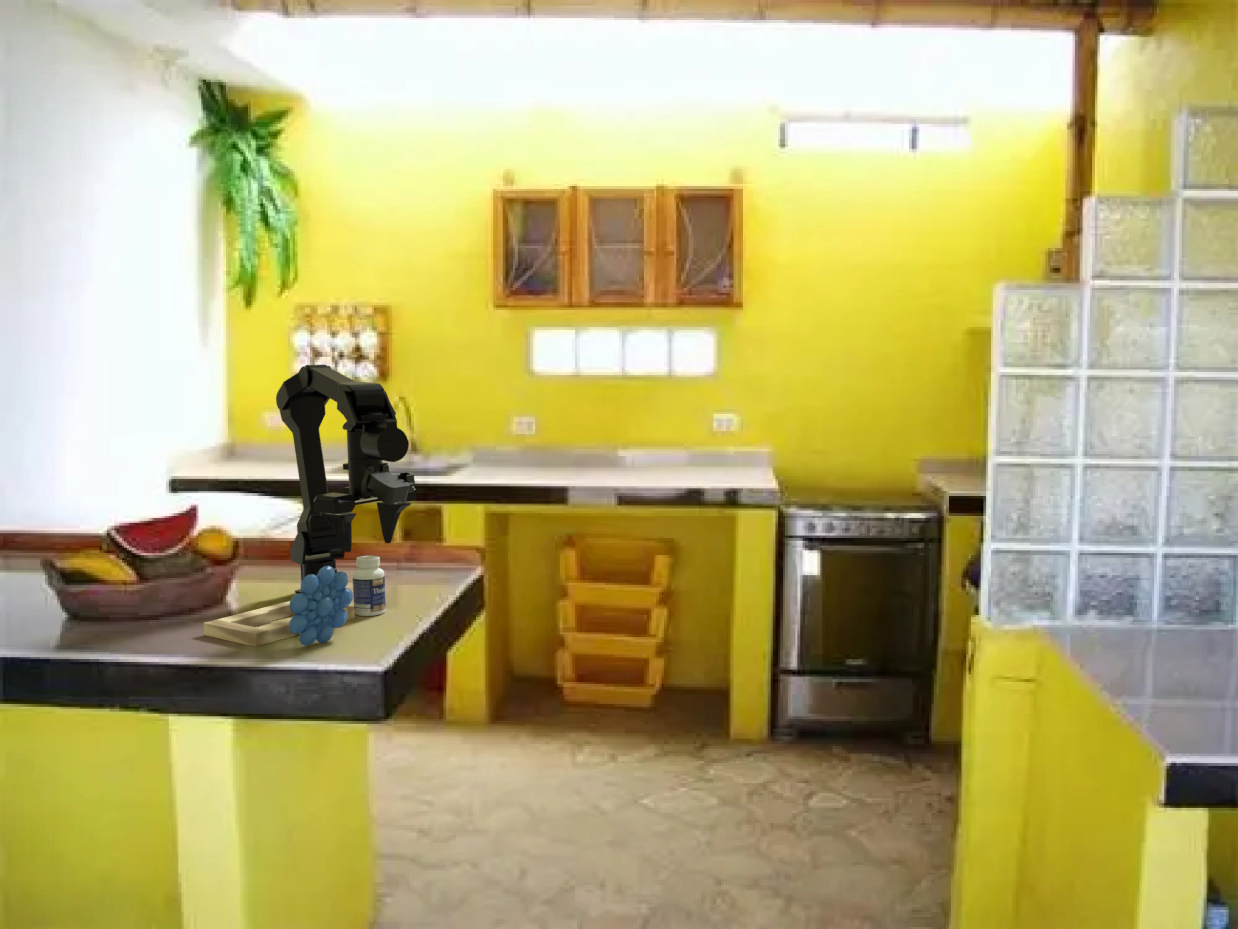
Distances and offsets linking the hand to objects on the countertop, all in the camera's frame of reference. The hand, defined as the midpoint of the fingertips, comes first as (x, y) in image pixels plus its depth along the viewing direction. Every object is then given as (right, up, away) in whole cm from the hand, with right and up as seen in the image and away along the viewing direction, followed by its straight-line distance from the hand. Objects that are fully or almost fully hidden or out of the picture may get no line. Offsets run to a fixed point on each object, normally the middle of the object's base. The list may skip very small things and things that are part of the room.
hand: (368, 547), depth 183 cm
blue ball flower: (-4, -14, -17) cm, 22 cm away
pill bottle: (0, -12, +1) cm, 12 cm away
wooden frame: (-13, -13, -7) cm, 19 cm away
